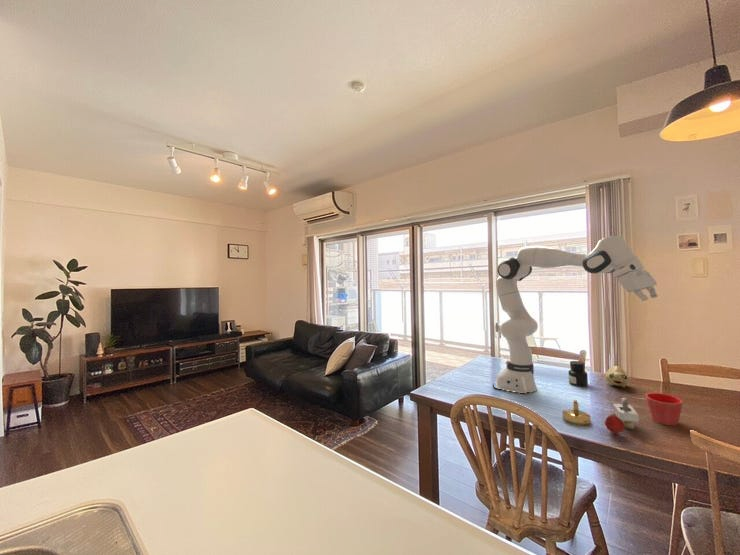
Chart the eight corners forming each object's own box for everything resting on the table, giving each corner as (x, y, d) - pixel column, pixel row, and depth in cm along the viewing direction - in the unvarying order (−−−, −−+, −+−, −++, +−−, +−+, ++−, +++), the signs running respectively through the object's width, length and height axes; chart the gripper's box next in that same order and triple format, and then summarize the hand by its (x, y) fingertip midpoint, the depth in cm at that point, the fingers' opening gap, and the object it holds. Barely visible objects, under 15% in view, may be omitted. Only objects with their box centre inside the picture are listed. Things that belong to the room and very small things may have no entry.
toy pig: (606, 388, 164) (605, 368, 164) (605, 381, 174) (604, 362, 174) (630, 391, 158) (629, 371, 158) (628, 384, 168) (627, 364, 168)
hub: (564, 423, 130) (563, 403, 130) (561, 413, 138) (560, 394, 138) (593, 427, 125) (592, 406, 125) (588, 417, 134) (587, 397, 134)
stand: (620, 427, 124) (618, 400, 124) (616, 422, 128) (615, 395, 128) (636, 429, 122) (634, 402, 122) (632, 424, 126) (630, 397, 126)
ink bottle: (567, 380, 179) (566, 359, 179) (585, 381, 175) (584, 360, 175) (570, 386, 170) (569, 364, 170) (589, 387, 166) (588, 365, 166)
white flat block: (619, 419, 122) (618, 412, 122) (613, 410, 130) (613, 403, 130) (638, 422, 120) (638, 414, 120) (631, 412, 128) (631, 405, 128)
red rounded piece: (608, 436, 118) (607, 415, 118) (603, 429, 123) (602, 409, 123) (627, 438, 116) (626, 417, 116) (621, 431, 121) (620, 411, 121)
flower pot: (675, 430, 120) (674, 405, 120) (641, 418, 130) (640, 396, 130) (689, 423, 124) (687, 399, 124) (655, 413, 134) (654, 391, 134)
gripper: (632, 270, 136) (652, 298, 131) (610, 274, 126) (630, 305, 121) (648, 263, 131) (669, 292, 126) (626, 267, 121) (648, 298, 116)
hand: (650, 298), depth 124 cm, fingers open, 8 cm apart
